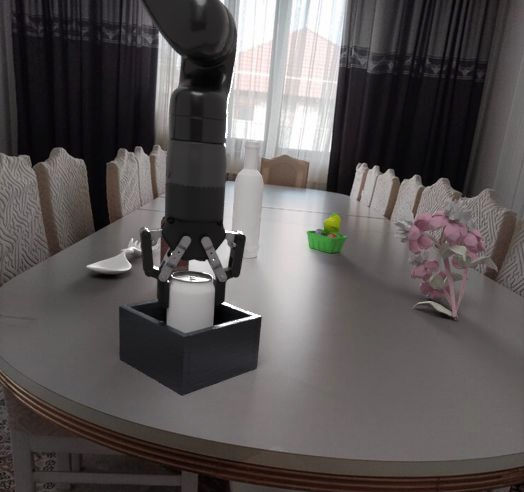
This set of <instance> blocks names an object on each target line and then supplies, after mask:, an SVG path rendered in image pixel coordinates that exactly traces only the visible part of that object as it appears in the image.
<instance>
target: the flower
mask: <svg viewBox="0 0 524 492" xmlns="http://www.w3.org/2000/svg"><path fill="white" fill-rule="evenodd" d="M463 198H464V199H461V200H460V199H456V198H455V199H454V200H453V198H452V196H450V197H448V198H447V199H445V201H444V203H443V206H444V208H445V210H436V211H435V212H434V213H433V214H432V215H431V213H430V212H422V213H421V214H419V215H417V217H416V218H414V213H413V212H411V211H405V212H402V215H403V217H401V219H400V218H398V220H397V221H392V223H393V225H395V227H398V228H396V230H397V231H396V232H395V234H394V238H396V239H399V240H398V241H399V242H400V243H403V244H406V243H407V244H408V250H409V251H410V253H412V255H410V257H407V260H408V263H409V265H412V266H415V267H414V268H413V269H412V270H411V272H410V278H411V279H413V280H416V279H418V280H422V281H423V282H420V283H419V286H418V287H419V291H420V293H421V294H423V295H426V296H425V298H429V299H431V301H430V300H429V301H420V302H419V301H418V302H417V303H415V304H414V305H413V307H412V309H414V308H416V307H418V306H421V307H423V306H425V307H428V308H432V309H434V310H435V311H437V313H441V314H446V315H448V316H449V317H451V318H453V319H454V320H455V321H457V322H458V323H459V321H460V320H459V316H458V311H459V308H460V306H461V303H462V300H463V298H464V295H465V292H466V287H467V280H468V281H469V278H468V270H469V268H470V269H473V268H476V267H477V266H478V265H485V266H487V267H488V268H489V269H491V270H495V272H496V273H498V272H499V271H498V266H497V265H496V264H495V263H494V261H493V260H492V259H491V257H490V256H480V255H478V254H477V253H481V252H484V251H486V243H485V242H484V241H483V236H482V233H481V232H480V231H479V230H477V228H478V227H479V224H478V222H479V221H478V220H479V215H477V216H476V217H475V218H474V219H473V217H474V215H472V212H473V208H471V207H468V205H467V204H465V202H466V200H467V198H466V196H464V197H463ZM464 204H465V205H464ZM467 207H468V208H467ZM444 227H445V228H444ZM442 228H444V230H443V232H442V236H441V240H440V242H439V241H438V240H437V239H436V238H435V237H434V236H433V235H432V234H430V233H428V231H430V232H432V233H433V232H436V231H438V230H440V229H442ZM445 241H446V242H445ZM444 242H445V243H444ZM433 244H436V246H437V248H438V252H439V254H440V255H441V258H442V260H443V265H444V269H445V271H444V270H439V269H438V268H440V263H439V261H438V260H437V259H429V257H430V252H429V251H428V249H430V248H431V247H432V246H433ZM421 250H423V251H421ZM450 257H452V258H451V261H450V259H449V258H450ZM428 259H429V260H428ZM450 262H451V264H450ZM451 266H452V267H453V268H455V269H456V270H463V273H462V274H461V273H458V272H454V271H452V270H451ZM437 270H438V271H437ZM458 281H461V284H460V291H459V296H458V299H457V302H456V295H455V287H454V283H455V282H458ZM443 295H444V296H445V298H446V300H447V302H448V304H449V307H450V309H451V310H450V309H447V308H446V307H444V305H442V304H439V303H438V302H435V301H436V300H441V299H442V298H443Z"/></svg>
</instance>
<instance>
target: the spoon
mask: <svg viewBox="0 0 524 492" xmlns="http://www.w3.org/2000/svg"><path fill="white" fill-rule="evenodd" d="M160 246H161V241H160V242H159V243H157V244H156V245H155V246H152V252H154V251H157V249H159V248H160ZM130 254H135V255H142V253H141V242H138V240H135V241H134V238H133V237H131V239H129V242H128V245H127V248H123V249H122V248H121V250H120V253H119V254H117V255H115V256H112V257H109V258H106V259H103V260H99V261H97V262H94V263H90V264H87V265H86V267H85V268H87V269H88V270H90V271H92V272H94V273H97V274H98V273H99V274H102V275H118V274H119V275H120V274H123V273H125V272H128V271H129V270H130V269H131V268H132V264H131V262H129V260H128V258H127V257H126V255H130Z"/></svg>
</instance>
